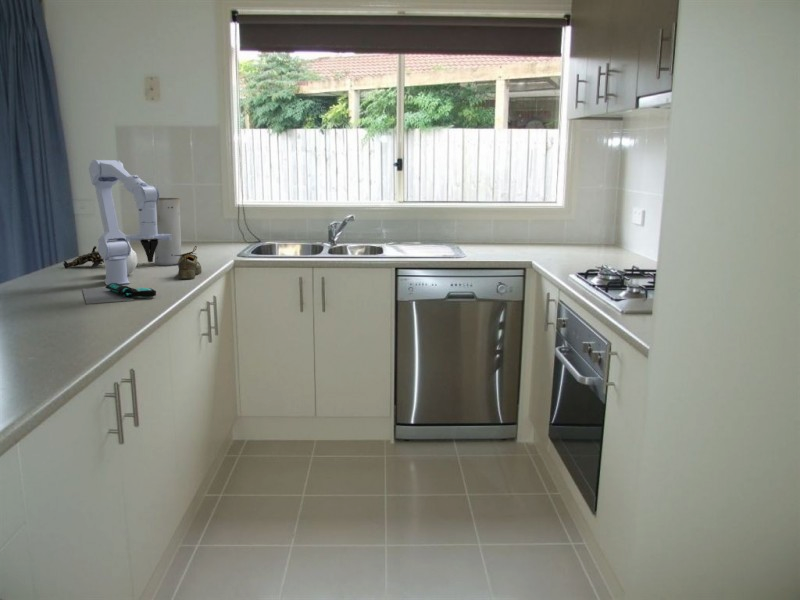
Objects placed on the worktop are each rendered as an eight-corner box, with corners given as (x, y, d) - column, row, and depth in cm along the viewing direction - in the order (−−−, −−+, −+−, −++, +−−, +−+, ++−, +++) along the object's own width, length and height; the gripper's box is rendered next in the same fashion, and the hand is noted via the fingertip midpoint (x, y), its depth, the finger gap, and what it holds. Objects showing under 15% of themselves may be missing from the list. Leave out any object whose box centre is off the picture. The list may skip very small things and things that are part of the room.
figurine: (63, 256, 278) (107, 241, 283) (71, 274, 280) (115, 259, 284) (59, 258, 269) (104, 243, 273) (67, 277, 271) (112, 262, 275)
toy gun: (133, 280, 236) (104, 282, 229) (157, 288, 221) (127, 291, 215) (133, 288, 236) (104, 291, 229) (158, 297, 222) (127, 300, 215)
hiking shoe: (203, 271, 274) (202, 242, 271) (195, 280, 255) (194, 249, 252) (181, 271, 273) (180, 242, 270) (172, 280, 253) (170, 249, 251)
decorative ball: (139, 277, 257) (137, 246, 255) (105, 279, 252) (103, 247, 250) (137, 272, 268) (135, 242, 265) (104, 273, 263) (102, 243, 260)
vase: (152, 262, 293) (146, 198, 287) (185, 260, 297) (179, 197, 291) (150, 267, 281) (144, 200, 275) (185, 265, 285) (179, 199, 279)
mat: (82, 290, 231) (82, 289, 231) (126, 287, 238) (125, 286, 238) (86, 304, 211) (86, 303, 211) (134, 300, 217) (133, 299, 217)
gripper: (126, 223, 221) (128, 264, 224) (172, 222, 227) (174, 262, 230) (124, 221, 227) (126, 261, 230) (169, 220, 233) (171, 259, 236)
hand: (150, 261), depth 230 cm, fingers closed
